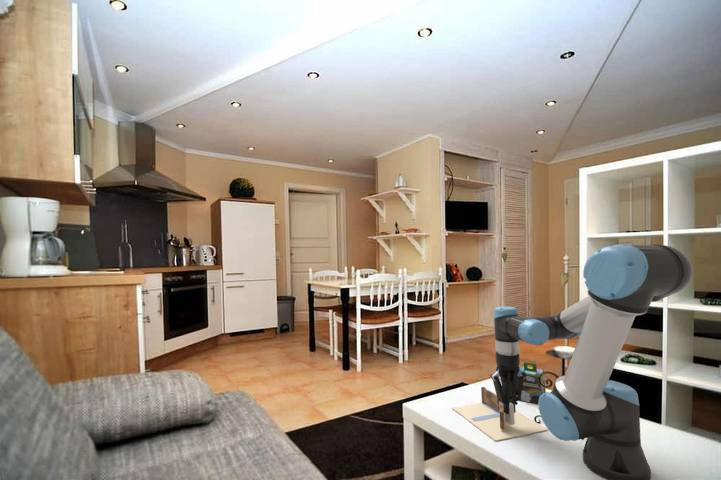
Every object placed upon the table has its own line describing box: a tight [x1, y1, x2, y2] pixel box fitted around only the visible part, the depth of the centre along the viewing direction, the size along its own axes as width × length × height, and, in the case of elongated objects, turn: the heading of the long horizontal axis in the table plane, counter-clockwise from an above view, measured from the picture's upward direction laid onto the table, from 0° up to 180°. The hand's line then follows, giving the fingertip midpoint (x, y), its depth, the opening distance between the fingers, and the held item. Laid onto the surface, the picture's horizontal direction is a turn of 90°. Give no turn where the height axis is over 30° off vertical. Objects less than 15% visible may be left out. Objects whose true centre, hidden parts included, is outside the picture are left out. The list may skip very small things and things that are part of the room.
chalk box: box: [519, 361, 547, 405], centre depth 142 cm, size 9×9×15 cm
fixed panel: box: [480, 386, 500, 411], centre depth 134 cm, size 10×1×6 cm, turn 17°
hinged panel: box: [500, 402, 504, 429], centre depth 122 cm, size 12×1×5 cm, turn 158°
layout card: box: [451, 402, 549, 443], centre depth 126 cm, size 25×21×1 cm
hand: (510, 422), depth 119 cm, fingers closed
